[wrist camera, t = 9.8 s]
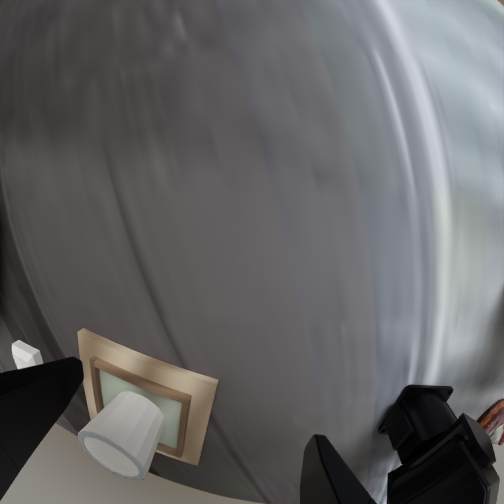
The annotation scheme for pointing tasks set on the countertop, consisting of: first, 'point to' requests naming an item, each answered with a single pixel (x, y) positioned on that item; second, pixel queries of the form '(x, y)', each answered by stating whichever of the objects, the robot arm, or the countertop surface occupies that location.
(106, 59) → the countertop surface
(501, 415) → the pastry
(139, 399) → the white tapered cylinder
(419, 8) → the countertop surface
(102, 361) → the board
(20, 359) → the soap bar
